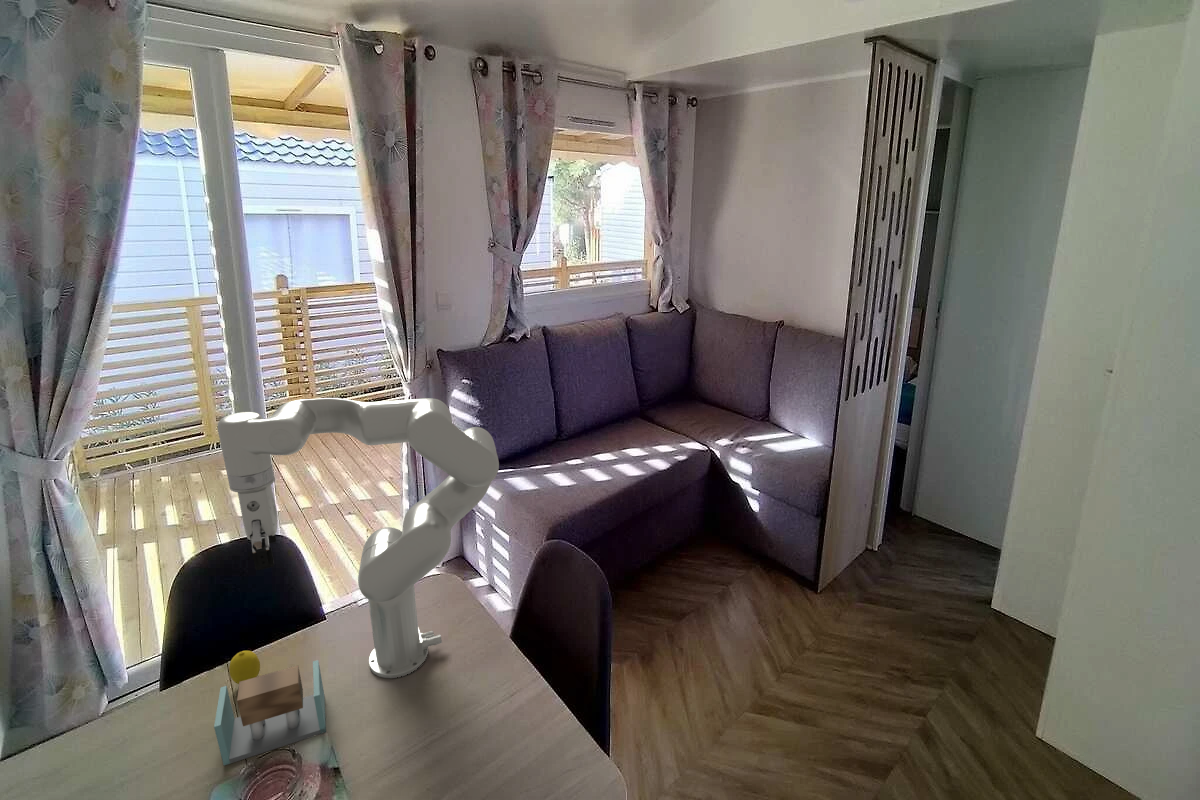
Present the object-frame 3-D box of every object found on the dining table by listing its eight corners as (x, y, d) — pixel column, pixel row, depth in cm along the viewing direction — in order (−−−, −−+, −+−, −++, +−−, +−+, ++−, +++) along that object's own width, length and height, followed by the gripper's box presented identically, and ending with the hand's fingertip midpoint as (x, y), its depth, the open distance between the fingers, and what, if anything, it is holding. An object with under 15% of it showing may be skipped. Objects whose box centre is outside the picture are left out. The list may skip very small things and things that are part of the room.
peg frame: (324, 695, 123) (318, 659, 120) (326, 731, 114) (319, 694, 112) (229, 724, 116) (220, 687, 113) (223, 765, 107) (214, 726, 105)
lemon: (249, 695, 123) (242, 663, 120) (226, 690, 124) (219, 659, 122) (269, 675, 128) (262, 645, 126) (246, 671, 129) (240, 641, 127)
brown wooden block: (302, 689, 118) (298, 665, 116) (302, 707, 114) (298, 682, 112) (245, 706, 114) (239, 681, 112) (243, 726, 110) (237, 700, 108)
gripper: (271, 492, 107) (286, 573, 112) (275, 457, 122) (288, 530, 127) (223, 500, 104) (241, 583, 109) (233, 463, 119) (248, 538, 124)
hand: (266, 554), depth 118 cm, fingers open, 9 cm apart
